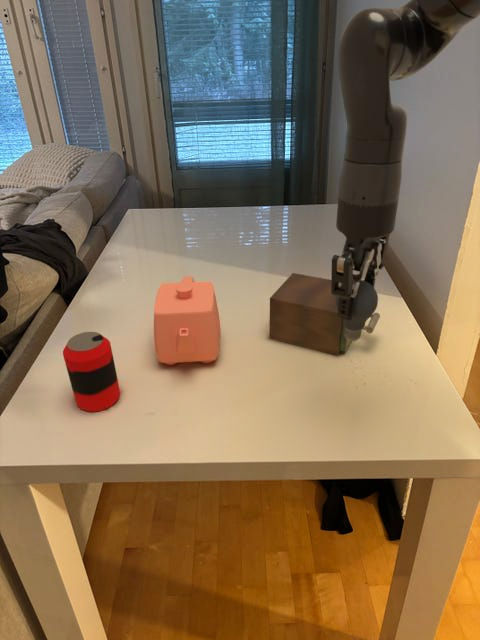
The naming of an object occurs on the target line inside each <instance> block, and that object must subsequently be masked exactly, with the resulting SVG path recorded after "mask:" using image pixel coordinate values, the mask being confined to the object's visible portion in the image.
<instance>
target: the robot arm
mask: <svg viewBox="0 0 480 640" xmlns="http://www.w3.org/2000/svg"><path fill="white" fill-rule="evenodd" d="M479 16H480V0H409V1H408V2H406V3H405V4H404V5H402V6H400V7H368V8H363V9H361V10H359V11H358V12H356V13H355V14H354V15H353V16H352V17H351V18H350V19H349V20H348V22H347V24H346V25H345V26H344V29H343V31H342V33H341V36H340V39H339V44H338V49H337V72H338V80H339V85H340V86H339V87H340V92H341V99H342V105H343V110H344V111H343V112H344V115H345V122H346V126H345V127H346V128H345V137H344V147H343V148H344V149H343V160H342V164H341V165H342V166H341V170H340V176H339V183H338V184H339V185H338V197H337V210H336V212H337V213H336V223H335V227H336V229H337V231H338V232H340V233H341V234H342V235H343V236H344V237H345V242H344V245H343V248H342V251H341V255H337V254H334V255H333V256H332V257H331V279H330V280H331V294H332V295H336V296H339V305H338V316H339V317H340V318H343V319H346V320H352V319H353V318H354V313H355V305H356V295H357V291H358V288H359V284H360V282H363V281H366V282H368V283H369V284H371V285H372V286H373V287H374V288H375V285H376V278H378V276H379V274H380V270H383V269H384V267H385V261H386V256H387V250H388V245H389V239H390V235H392V233H393V232H394V230H395V226H396V219H397V212H398V207H399V198H400V192H401V184H402V179H403V178H402V174H403V173H402V172H403V156H404V150H405V142H406V135H407V127H408V116H407V112H406V110H405V109H404V108H402V107H401V106H399V105H397V104H392V97H391V83H390V82H393V81H401V80H404V79H407V78H409V77H411V76H413V75H415V74H417V73H418V72H420V71H421V70H422V69H424V68H425V67H426V66H428V65H429V64H430V63H431V62H433V61H434V59H436V58H437V56H439V55H440V53H441V52H442V51H443V50H444V49H445V48H446V47H447V46H448V45H449V44H450V43H451V42H453V40H454V39H455V38H456V36H457V35H458V34H459V33H460V31H461V30H462V29H463V28H464V27H466V25H468V24H469V23H471V22H473V21H474V20H475V19H477V18H478V17H479ZM354 271H355V272H358V273H357V274H356V273H354ZM352 280H353V281H354V283H353V286H352Z"/></svg>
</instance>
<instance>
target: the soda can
mask: <svg viewBox="0 0 480 640" xmlns="http://www.w3.org/2000/svg"><path fill="white" fill-rule="evenodd" d="M62 357H63V360H64V363H65V367H66V372H67V374H68V378H69V383H70V386H71V389H72V393H73V397H74V400H75V404H76V406H77V407H78V408H79V409H81V410H83V411H85V412H99V411H103V410H106V409H109V408H110V407H112V406H113V405H114V404H115V403H116V402H117V401H118V400H119V398H120V396H121V388H120V384H119V379H118V374H117V369H116V364H115V360H114V359H115V358H114V354H113V350H112V345H111V341H110V340H109V339H108V338H107V337H105V336H104V335H103V334H101V333H100V332H96V331H84V332H80V333H76V334H75V335H73V336H72V337H70V338H69V339H68V340H67V343H66V344H65V346H64V347H63V350H62Z"/></svg>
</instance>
